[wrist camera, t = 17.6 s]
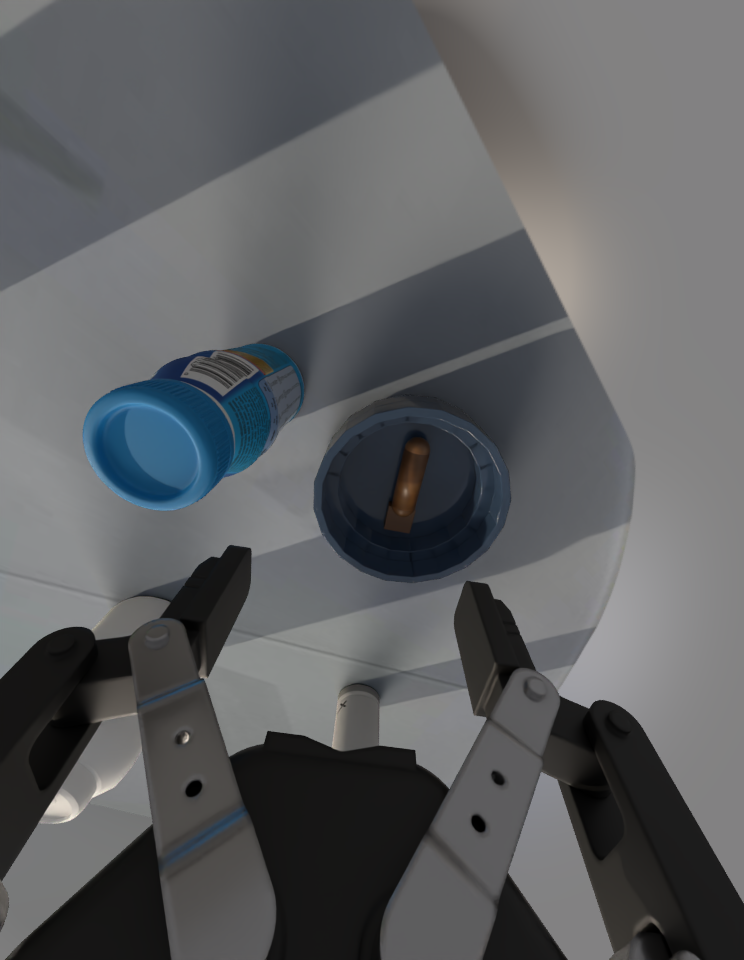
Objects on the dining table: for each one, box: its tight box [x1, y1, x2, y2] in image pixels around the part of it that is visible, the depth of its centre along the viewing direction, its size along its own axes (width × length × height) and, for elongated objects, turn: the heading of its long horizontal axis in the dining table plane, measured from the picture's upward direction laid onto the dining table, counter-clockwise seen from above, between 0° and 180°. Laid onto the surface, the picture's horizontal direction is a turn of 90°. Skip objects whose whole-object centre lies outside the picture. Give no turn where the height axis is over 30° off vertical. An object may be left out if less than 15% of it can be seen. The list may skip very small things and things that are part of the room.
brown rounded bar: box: [384, 437, 430, 533], centre depth 39 cm, size 11×3×3 cm, turn 169°
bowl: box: [314, 395, 511, 583], centre depth 38 cm, size 19×19×6 cm
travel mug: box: [332, 684, 379, 751], centre depth 46 cm, size 6×7×20 cm
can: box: [39, 596, 171, 824], centre depth 41 cm, size 12×12×20 cm
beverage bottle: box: [83, 344, 304, 511], centre depth 27 cm, size 8×8×20 cm
